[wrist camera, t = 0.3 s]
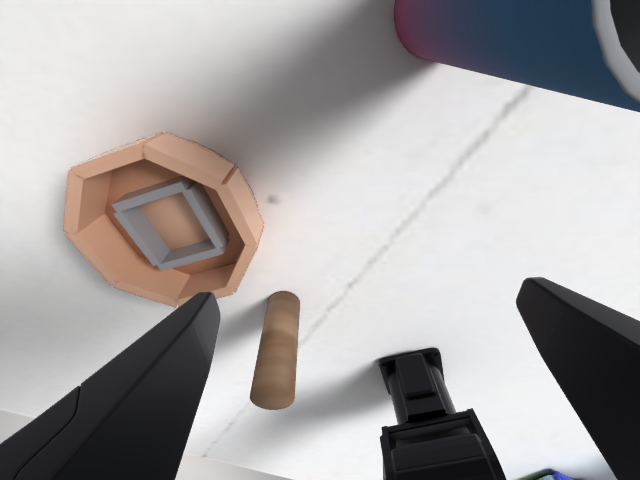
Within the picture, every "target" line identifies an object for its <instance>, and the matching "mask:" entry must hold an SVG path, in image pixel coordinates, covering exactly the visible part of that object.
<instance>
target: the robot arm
mask: <svg viewBox="0 0 640 480" xmlns="http://www.w3.org/2000/svg"><path fill="white" fill-rule="evenodd" d="M516 305H517V308H518V310H519V312H520V314H521V316H522V318H523V321H524V323H525V325H526V327H527V329H528V331H529V333H530V335H531V337H532V339H533V341H534V343H535V345H536V347H537V349H538V351H539V353H540V355H541V357H542V358H543V360H544V362H545V363H546V365H547V367H548V368H549V370H550V371H551V373H552V375H553V376H554V378H555V380H556V381H557V383H558V384H559V386H560V388H561V389H562V391H563V392H564V394H565V396H566V397H567V399H568V400H569V402H570V404H571V405H572V407H573V409H574V410H575V412H576V413H577V415H578V417H579V418H580V420H581V421H582V423H583V425H584V426H585V428H586V430H587V431H588V433H589V434H590V436H591V438H592V439H593V441H594V442H595V444H596V446H597V447H598V449H599V450H600V452H601V454H602V455H603V457H604V459H605V460H606V462H607V463H608V465H609V467H610V468H611V470H612V471H613V473H614V475H615V476H616V478H617V480H640V321H638V320H636V319H634V318H632V317H629V316H627V315H625V314H623V313H620V312H618V311H616V310H614V309H612V308H609V307H607V306H605V305H603V304H601V303H598V302H596V301H594V300H592V299H589V298H587V297H585V296H583V295H581V294H578V293H576V292H574V291H572V290H570V289H567V288H565V287H563V286H561V285H558V284H556V283H554V282H552V281H550V280H547V279H545V278H542V277H531V278H526V279H525V280H524V281H523V283H522V286H521V288H520V291H519V293H518V296H517V299H516ZM219 323H220V311H219V307H218V304H217V301H216V297H215V295H214V293H213V292H199V293H197V294H195V295H194V296H193V297H192V298H190V299H189V300H188V301H186V302H185V303H184V304H183V305H181V306H180V307H179V308H178V309H176V310H175V311H174V312H172V313H171V314H170V315H169V316H167V317H166V318H165V319H163V320H162V321H161V322H160V323H158V324H157V325H156V326H154V327H153V328H152V329H151V330H149V331H148V332H147V333H145V334H144V335H143V336H142V337H140V338H139V339H138V340H136V341H135V342H134V343H133V344H131V345H130V346H129V347H128V348H126V349H125V350H124V351H122V352H121V353H120V354H119V355H117V356H116V357H115V358H113V359H112V360H111V361H110V362H108V363H107V364H106V365H104V366H103V367H102V368H101V369H99V370H98V371H97V372H95V373H94V374H93V375H92V376H90V377H89V378H88V379H86V380H85V381H84V382H83V383H82V384H81V386H77V387H76V388H75V389H73V390H72V391H71V392H70V393H68V394H67V395H66V396H65V397H63V398H62V399H61V400H59V401H58V402H57V403H55V404H54V405H53V406H51V407H50V408H49V409H47V410H46V411H45V412H43V413H42V414H41V415H40V416H38V417H37V418H36V419H34V420H33V421H32V422H30V423H29V424H27V425H26V426H24V427H23V428H22V429H20V430H19V431H18V432H16V433H15V434H13V435H12V436H11V437H9V438H8V439H6V440H5V441H4V442H2V443H1V444H0V480H175V478H176V474H177V471H178V468H179V465H180V461H181V459H182V455H183V453H184V449H185V446H186V443H187V440H188V437H189V434H190V431H191V428H192V424H193V421H194V418H195V415H196V412H197V409H198V406H199V403H200V399H201V396H202V393H203V390H204V387H205V384H206V381H207V378H208V374H209V371H210V367H211V363H212V358H213V353H214V348H215V343H216V338H217V333H218V328H219ZM379 366H380V369H381V372H382V375H383V378H384V381H385V384H386V387H387V390H388V393H389V394H390V395H391V396H392V401H393V405H394V410H395V414H396V418H397V423H398V425H394V426H389V427H387V426H384V427H382V436H381V437H380V442H381V448H382V454H383V480H506V477H505V475H504V472H503V470H502V467H501V465H500V463H499V460H498V458H497V456H496V454H495V452H494V450H493V448H492V446H491V444H490V442H489V440H488V438H487V436H486V434H485V432H484V430H483V428H482V426H481V424H480V422H479V420H478V418H477V416H476V414H475V412H474V410H473V409H472V408H471V409H467V411H462V412H458V413H456V410H455V408H454V405H453V403H452V400H451V398H450V395H449V393H448V390H447V388H446V386H445V382H444V375H443V368H442V361H441V354H440V351H439V349H437V348H432V349H428V350H423V351H418V352H413V353H408V354H403V355H398V356H394V357H389V358H384V359H381V360H379Z"/></svg>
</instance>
